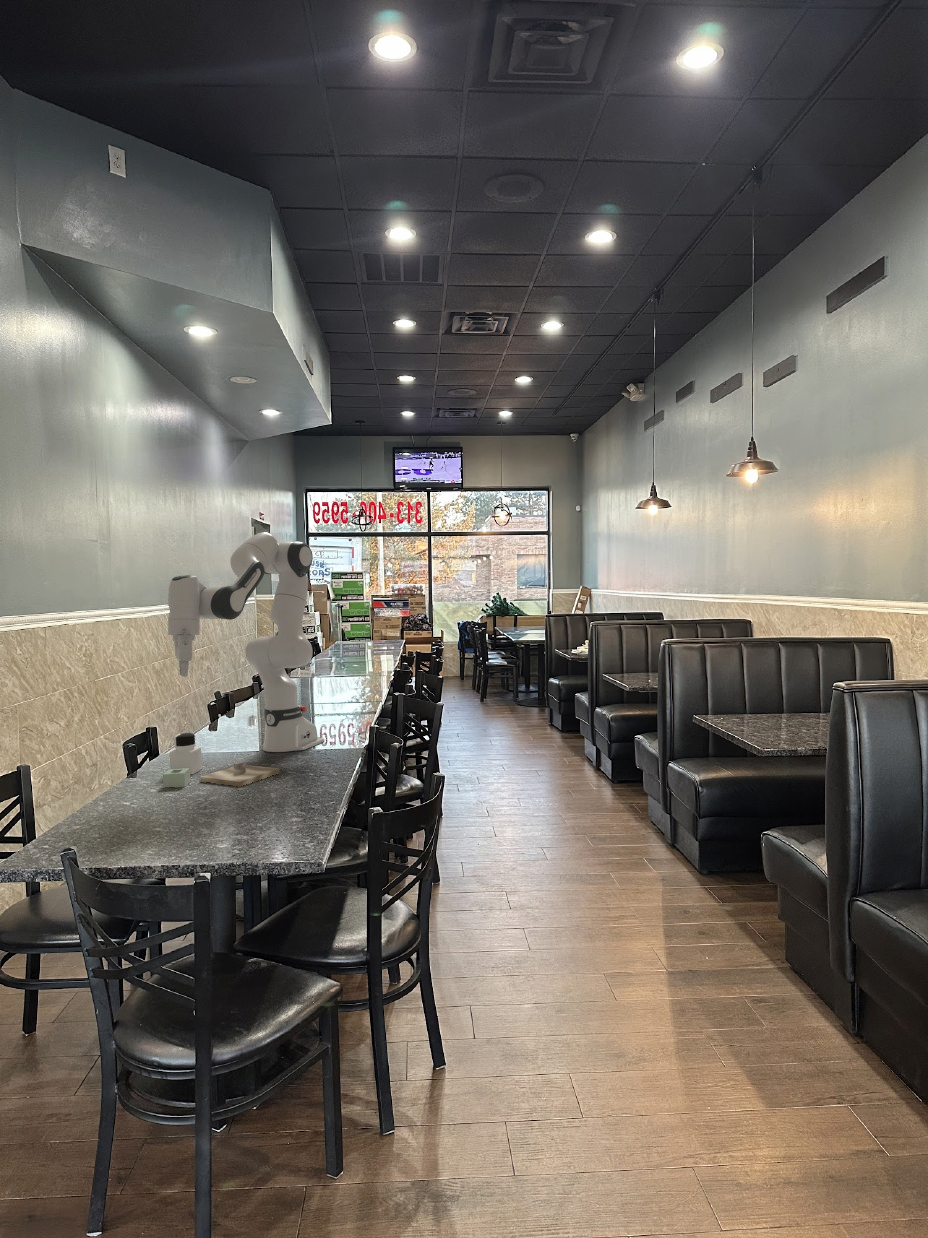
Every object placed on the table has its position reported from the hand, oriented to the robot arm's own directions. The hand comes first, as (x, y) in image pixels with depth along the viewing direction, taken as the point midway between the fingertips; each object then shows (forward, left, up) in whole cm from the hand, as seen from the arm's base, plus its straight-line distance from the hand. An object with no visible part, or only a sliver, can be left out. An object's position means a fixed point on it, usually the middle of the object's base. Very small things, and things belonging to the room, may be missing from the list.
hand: (183, 675), depth 234 cm
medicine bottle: (-6, -8, -31) cm, 33 cm away
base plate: (-7, +14, -31) cm, 35 cm away
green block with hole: (+6, +2, -31) cm, 32 cm away
